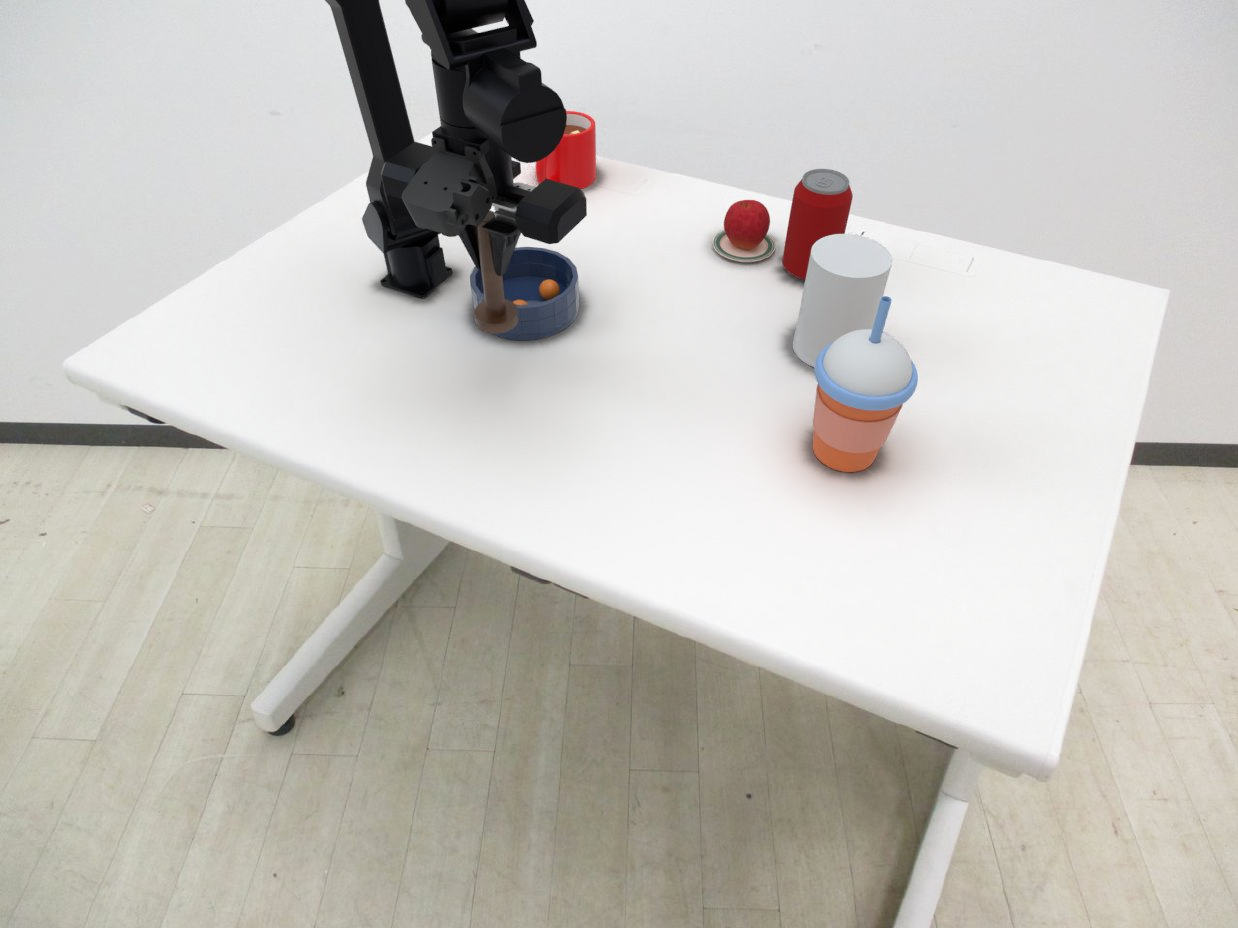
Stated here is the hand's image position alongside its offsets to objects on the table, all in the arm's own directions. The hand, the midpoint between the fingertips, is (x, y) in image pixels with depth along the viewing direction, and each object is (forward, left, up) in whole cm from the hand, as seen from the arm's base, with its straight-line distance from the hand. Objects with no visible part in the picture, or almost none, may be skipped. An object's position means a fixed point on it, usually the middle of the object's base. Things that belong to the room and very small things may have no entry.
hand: (491, 270), depth 82 cm
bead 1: (-3, +8, -11) cm, 14 cm away
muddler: (0, 0, -6) cm, 6 cm away
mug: (-15, +39, -13) cm, 43 cm away
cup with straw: (+36, +5, -13) cm, 39 cm away
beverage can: (+23, +34, -13) cm, 43 cm away
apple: (+14, +35, -13) cm, 40 cm away
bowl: (-4, +11, -13) cm, 17 cm away
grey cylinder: (+30, +20, -13) cm, 39 cm away
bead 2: (-2, +13, -11) cm, 17 cm away
